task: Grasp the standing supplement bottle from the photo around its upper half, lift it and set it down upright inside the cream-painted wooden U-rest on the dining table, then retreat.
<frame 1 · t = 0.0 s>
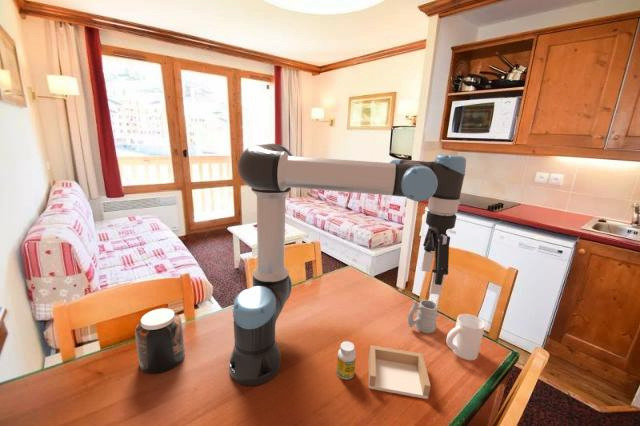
hand: (430, 281, 83), 28 cm above the table, fingers open, 13 cm apart
supplement bottle: (345, 373, 84), on the table
mug 2: (458, 352, 95), on the table
jar: (163, 359, 86), on the table
mug: (420, 328, 106), on the table
u rest: (396, 376, 84), on the table
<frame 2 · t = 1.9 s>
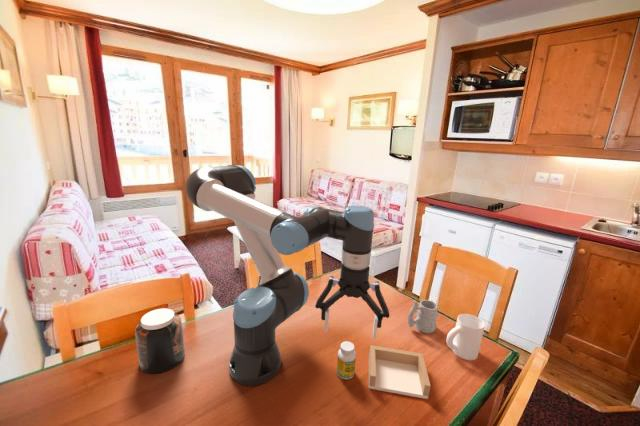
hand: (349, 332, 80), 14 cm above the table, fingers open, 13 cm apart
nothing on the table moved.
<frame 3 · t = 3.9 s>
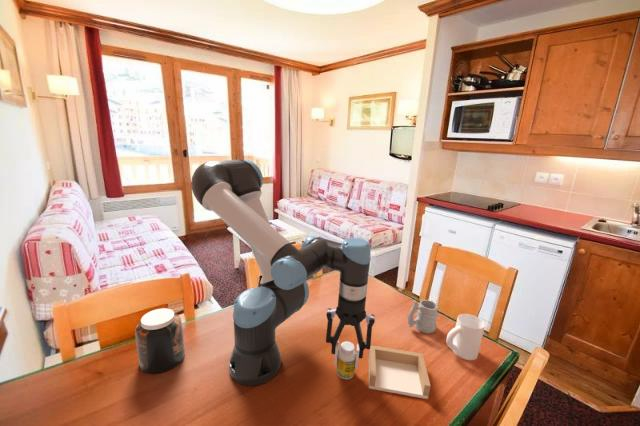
hand: (346, 363, 83), 3 cm above the table, fingers closed on supplement bottle, 5 cm apart
supplement bottle: (345, 373, 84), on the table, touching gripper
everything else where it was.
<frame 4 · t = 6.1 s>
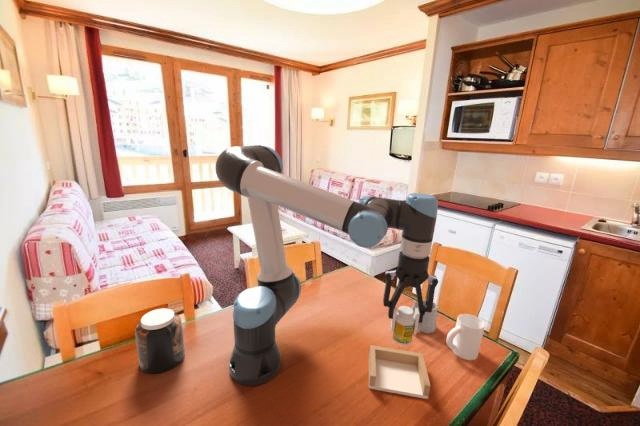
hand: (403, 329, 80), 16 cm above the table, fingers closed on supplement bottle, 5 cm apart
supplement bottle: (401, 339, 81), point 13 cm above the table, touching gripper
everything else where it was.
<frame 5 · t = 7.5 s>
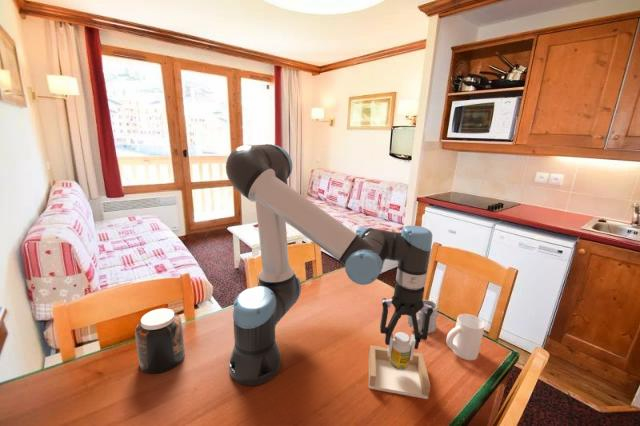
hand: (399, 354, 82), 8 cm above the table, fingers closed on supplement bottle, 5 cm apart
supplement bottle: (398, 364, 83), point 4 cm above the table, touching gripper
everything else where it was.
when the fingers open (5 cm above the table, at t = 8.7 s): supplement bottle stays where it is, resting on u rest.
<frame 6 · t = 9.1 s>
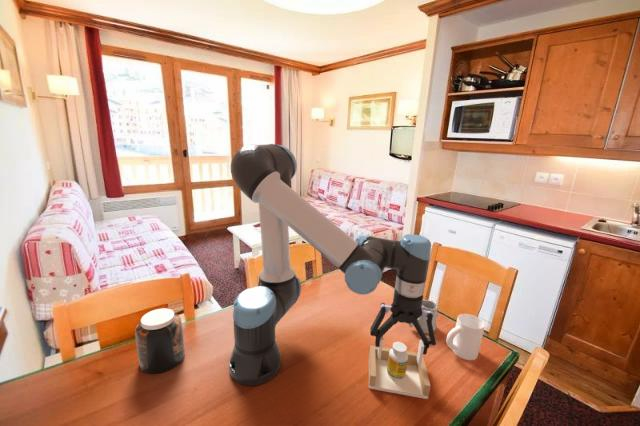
hand: (398, 358, 82), 6 cm above the table, fingers open, 10 cm apart
supplement bottle: (395, 374, 84), point 1 cm above the table, touching u rest
everything else where it was.
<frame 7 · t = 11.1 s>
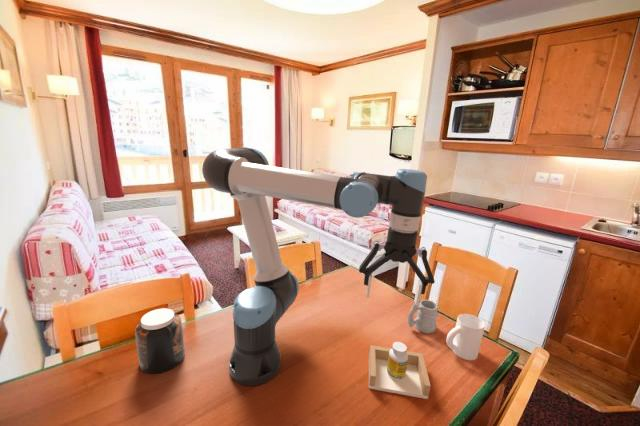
hand: (391, 299, 81), 24 cm above the table, fingers open, 13 cm apart
nothing on the table moved.
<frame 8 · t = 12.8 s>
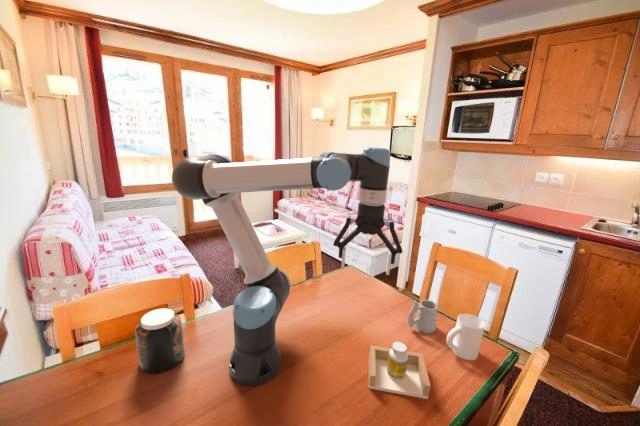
hand: (364, 270, 87), 29 cm above the table, fingers open, 13 cm apart
nothing on the table moved.
at the end: supplement bottle inside the target area on the u rest (0.8 cm from its centre), point 0.8 cm above the u rest's base; supplement bottle tilted 0°; the gripper is holding nothing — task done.
